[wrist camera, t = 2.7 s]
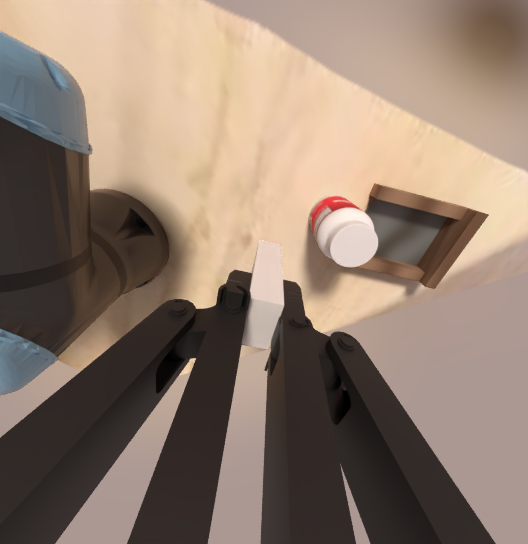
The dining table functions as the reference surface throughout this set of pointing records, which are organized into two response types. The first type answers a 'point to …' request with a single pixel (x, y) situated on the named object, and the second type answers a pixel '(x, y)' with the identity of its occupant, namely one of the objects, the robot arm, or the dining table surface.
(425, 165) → the dining table surface
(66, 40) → the dining table surface
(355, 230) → the pill bottle
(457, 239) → the tray
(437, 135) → the dining table surface
